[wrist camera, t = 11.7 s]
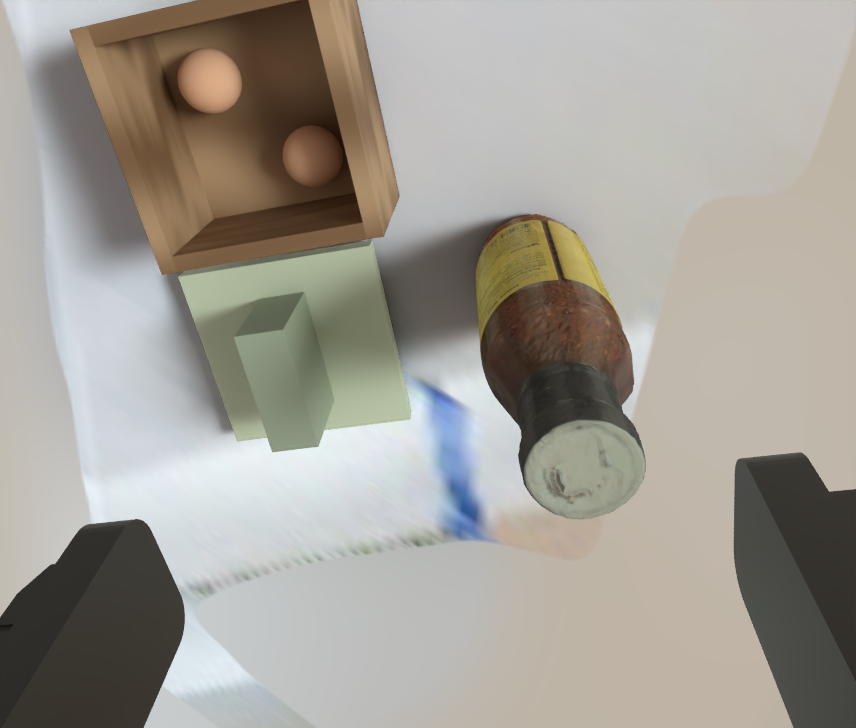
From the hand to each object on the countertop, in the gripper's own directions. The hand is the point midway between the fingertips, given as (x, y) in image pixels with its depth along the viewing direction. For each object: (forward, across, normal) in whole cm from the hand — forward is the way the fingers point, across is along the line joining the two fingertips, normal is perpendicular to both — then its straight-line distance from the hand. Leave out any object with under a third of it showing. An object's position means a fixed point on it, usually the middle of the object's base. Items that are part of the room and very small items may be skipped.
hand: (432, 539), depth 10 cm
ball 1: (+32, +12, -4) cm, 34 cm away
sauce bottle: (+32, -2, +9) cm, 34 cm away
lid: (+32, +12, +12) cm, 36 cm away
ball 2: (+31, +8, +1) cm, 32 cm away
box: (+32, +10, -1) cm, 34 cm away
